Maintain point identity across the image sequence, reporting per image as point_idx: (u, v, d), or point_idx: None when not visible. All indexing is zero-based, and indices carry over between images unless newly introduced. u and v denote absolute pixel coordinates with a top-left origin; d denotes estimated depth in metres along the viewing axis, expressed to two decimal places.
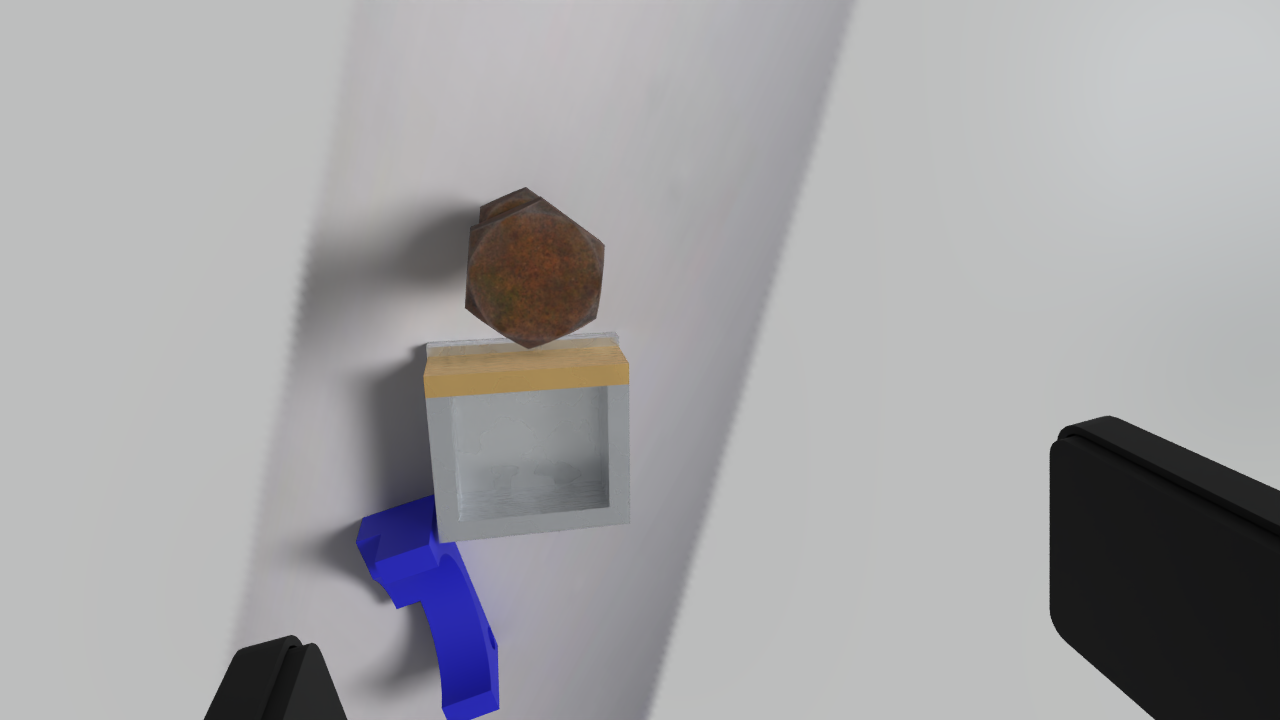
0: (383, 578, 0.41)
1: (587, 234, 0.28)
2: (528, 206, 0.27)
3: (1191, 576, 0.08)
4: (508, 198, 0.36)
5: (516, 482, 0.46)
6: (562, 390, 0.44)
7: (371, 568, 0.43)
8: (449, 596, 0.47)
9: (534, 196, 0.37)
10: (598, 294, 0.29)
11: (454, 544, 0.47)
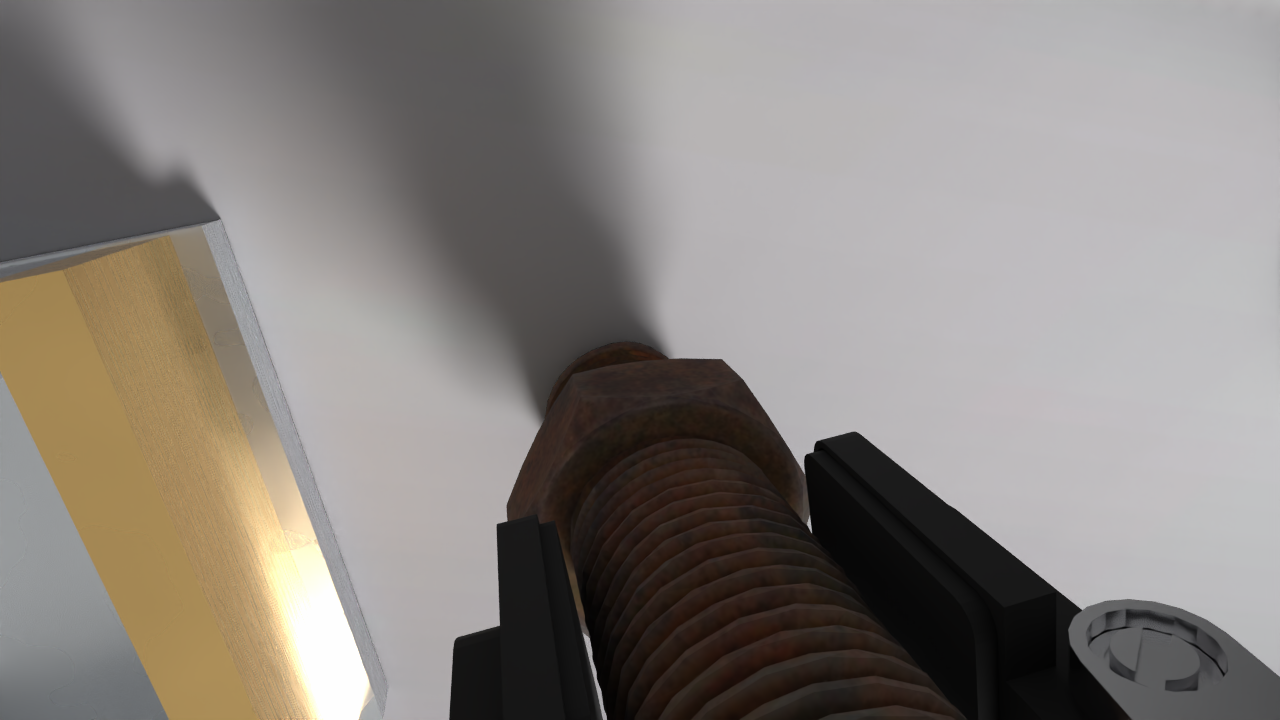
0: None
1: None
2: None
3: (881, 579, 0.08)
4: (793, 459, 0.12)
5: None
6: None
7: None
8: None
9: None
10: None
11: None
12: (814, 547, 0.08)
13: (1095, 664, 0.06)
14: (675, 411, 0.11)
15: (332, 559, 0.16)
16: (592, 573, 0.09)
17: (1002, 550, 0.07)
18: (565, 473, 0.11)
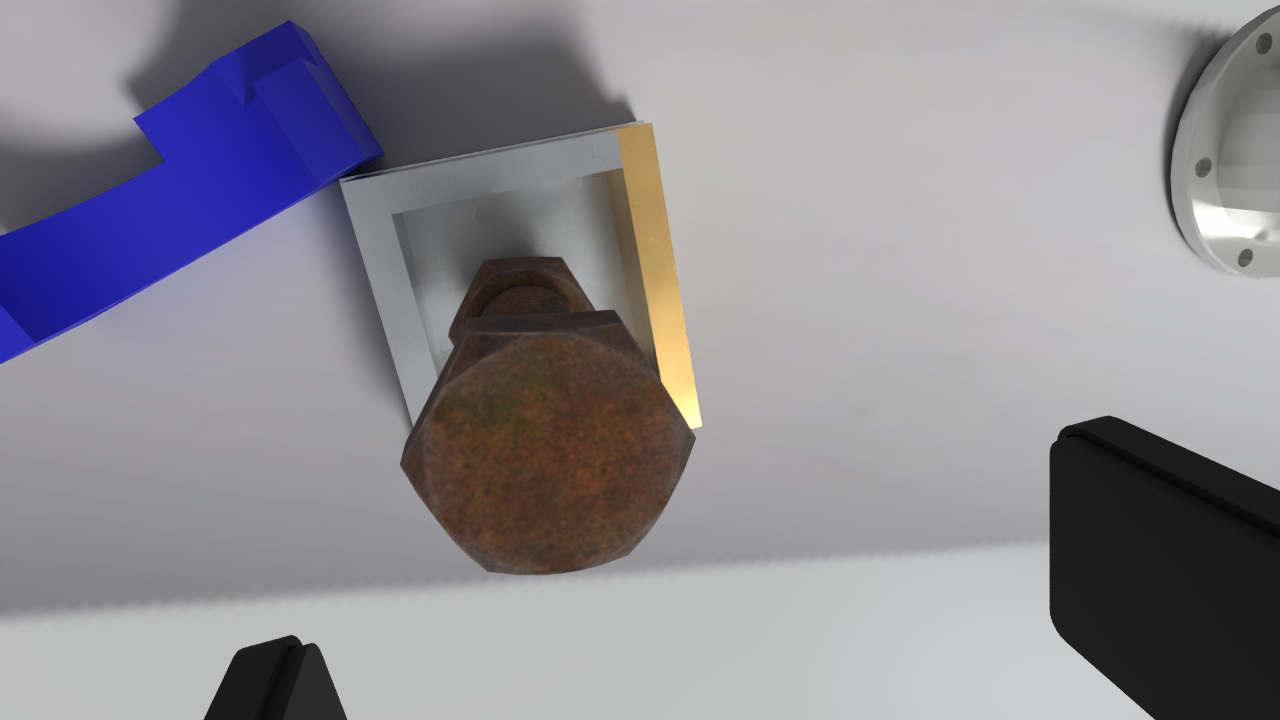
0: (267, 80, 0.20)
1: (648, 528, 0.15)
2: (684, 419, 0.15)
3: (1191, 576, 0.08)
4: (590, 303, 0.23)
5: (435, 292, 0.28)
6: None
7: (237, 56, 0.23)
8: (190, 214, 0.25)
9: None
10: (540, 572, 0.15)
11: None
12: None
13: None
14: (528, 273, 0.23)
15: None
16: None
17: None
18: (474, 301, 0.23)
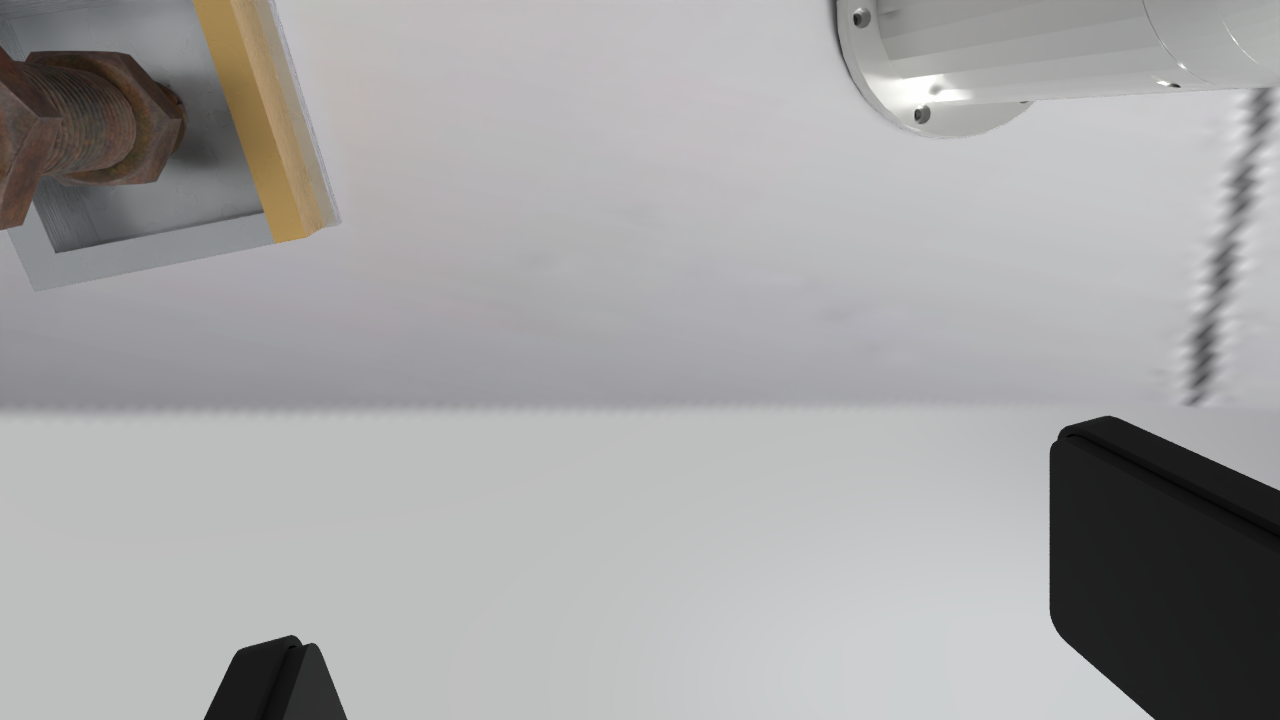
0: None
1: None
2: (12, 93, 0.17)
3: (1191, 576, 0.08)
4: (144, 92, 0.25)
5: None
6: (235, 158, 0.31)
7: None
8: None
9: (160, 130, 0.26)
10: None
11: None
12: (61, 73, 0.22)
13: None
14: (72, 58, 0.24)
15: (311, 133, 0.32)
16: None
17: None
18: None
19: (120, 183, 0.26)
